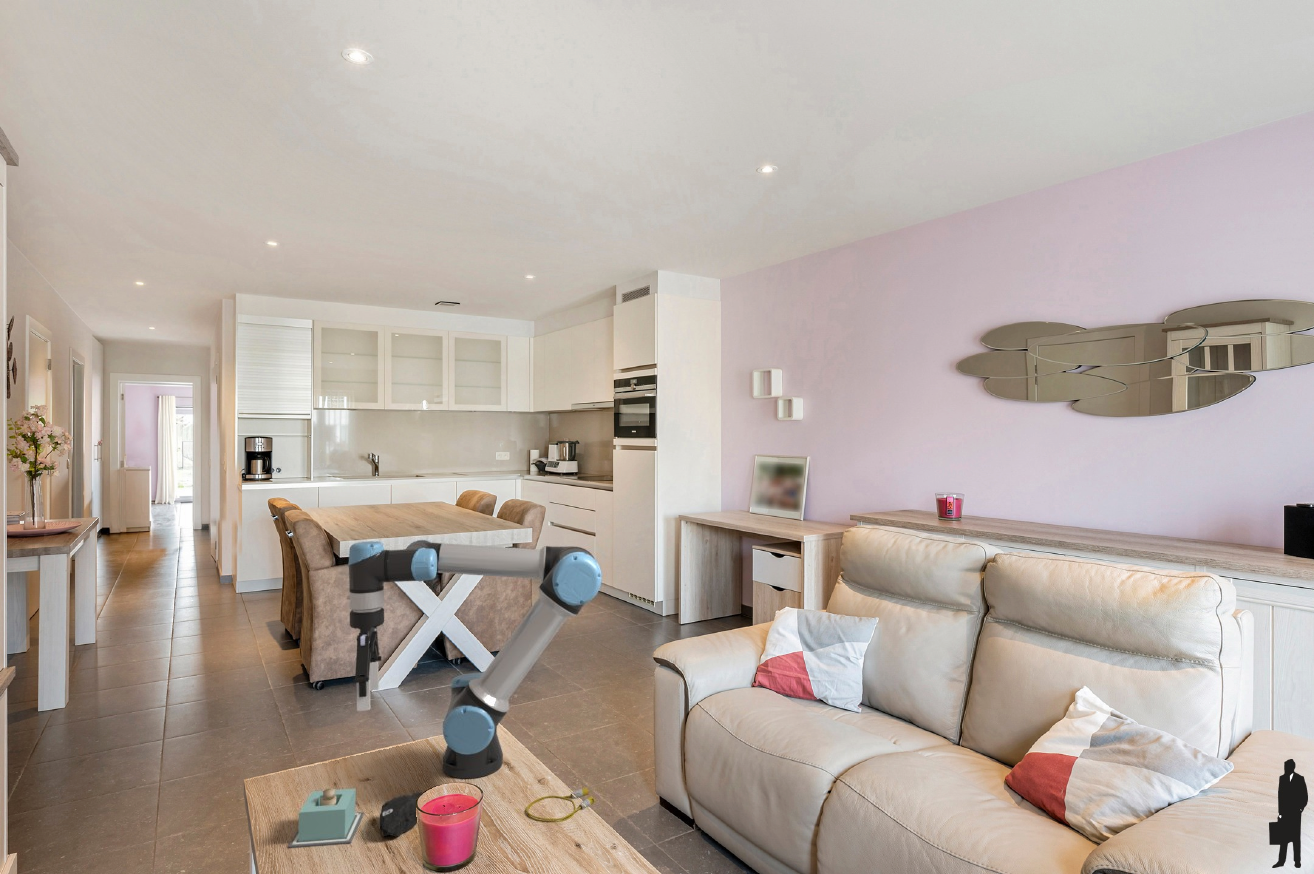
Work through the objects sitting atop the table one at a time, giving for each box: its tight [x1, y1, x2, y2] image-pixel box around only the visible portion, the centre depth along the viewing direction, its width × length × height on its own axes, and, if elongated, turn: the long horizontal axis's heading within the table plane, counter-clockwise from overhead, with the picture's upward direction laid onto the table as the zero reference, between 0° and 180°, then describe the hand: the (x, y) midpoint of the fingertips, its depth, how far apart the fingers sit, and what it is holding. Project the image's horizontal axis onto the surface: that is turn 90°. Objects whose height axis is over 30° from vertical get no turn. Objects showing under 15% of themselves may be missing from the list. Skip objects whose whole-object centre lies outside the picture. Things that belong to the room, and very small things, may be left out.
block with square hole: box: [298, 788, 357, 842], centre depth 151 cm, size 9×9×6 cm
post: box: [321, 787, 336, 806], centre depth 151 cm, size 3×3×8 cm
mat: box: [287, 811, 365, 849], centre depth 151 cm, size 12×12×1 cm
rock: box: [378, 791, 424, 837], centre depth 153 cm, size 10×9×6 cm
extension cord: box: [525, 787, 595, 823], centre depth 162 cm, size 12×16×2 cm
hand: (368, 699), depth 165 cm, fingers open, 13 cm apart
